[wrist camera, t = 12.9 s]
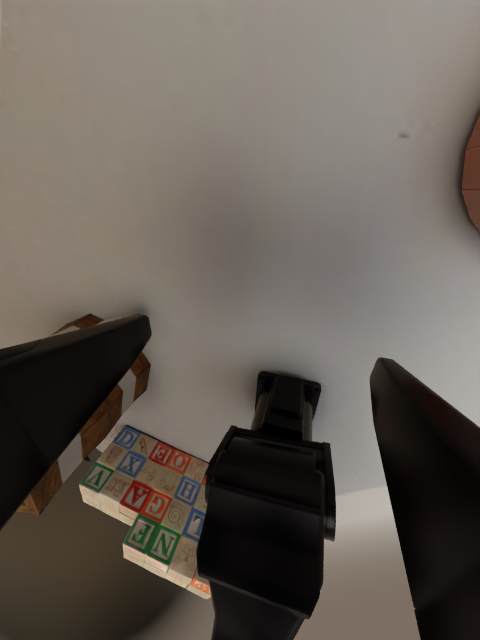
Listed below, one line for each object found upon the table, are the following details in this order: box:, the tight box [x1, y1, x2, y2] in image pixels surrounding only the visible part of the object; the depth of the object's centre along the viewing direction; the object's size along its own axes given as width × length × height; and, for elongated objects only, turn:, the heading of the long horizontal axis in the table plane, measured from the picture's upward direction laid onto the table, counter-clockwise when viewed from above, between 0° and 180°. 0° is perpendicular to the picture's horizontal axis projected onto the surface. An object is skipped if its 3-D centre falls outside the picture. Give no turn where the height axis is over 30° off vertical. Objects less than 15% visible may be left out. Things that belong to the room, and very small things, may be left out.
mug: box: [17, 314, 151, 515], centre depth 24 cm, size 20×14×15 cm
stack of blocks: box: [79, 426, 211, 599], centre depth 34 cm, size 21×6×12 cm, turn 74°
